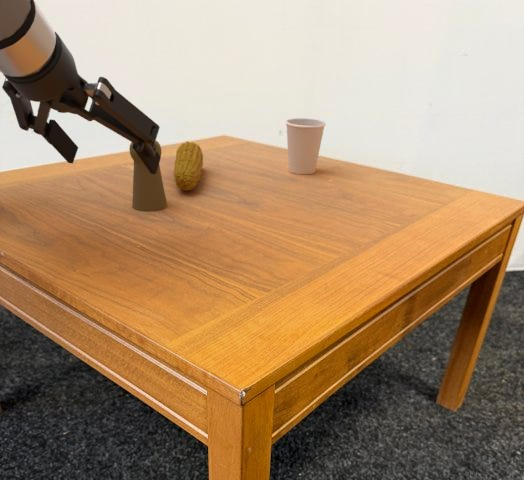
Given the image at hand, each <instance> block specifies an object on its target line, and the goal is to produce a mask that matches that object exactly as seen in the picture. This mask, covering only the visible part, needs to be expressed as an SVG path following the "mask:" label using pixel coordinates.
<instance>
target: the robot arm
mask: <svg viewBox="0 0 524 480" xmlns="http://www.w3.org/2000/svg"><path fill="white" fill-rule="evenodd" d="M0 73H1V74H2V75H3V77H5V78H4V81H3V84H2V87H1V88H2V90H3V91H4V93H6V95H7V96H8V98H9V99H10V103H11V106H12V108H13V111H14V115H15V117H16V120H17V125H18V126H19V128H20V129H21V130H22V131H26V132H27V131H29V129H30V130H33V132H34V133H35V134H36V135H40V136H42V138H43V139H44V140H45V141H46V142H47V143H48V144H49V145H50V146H52V147H53V148H54V149H55V150H56V151H57V152H58V154H59V155H60V156H62V158H64V160H65V161H66V162H67V163H68V164H74V161H75V158H76V155H77V153H78V150H79V146H78V145H77V144H76V143H75V142H74V141H73V139H72V138H71V137H70V136H69V134H67V132H66V131H65V130H64V129H63V128H62V126H60V125H59V123H58V122H57V121H56V120H55V119H49V117H50V113H51V109H52V110H53V111H56V112H57V113H61V114H67V113H68V114H73V115H78V116H79V117H81V118H82V119H84V120H86V121H87V122H92V121H95V122H96V123H98V124H100V125H102V126H103V127H105V128H107V129H109V130H110V131H112V132H114V133H116V134H117V135H119V136H120V137H123V138H124V139H126V140H127V141H129V142H130V143H131V142H133V146H132V147H133V149H134V150H135V152H136V153H137V154H138V156H139V157H140V159H141V160H142V162H143V163H144V164H145V166H146V167H147V169H148V170H149V172H150V173H151V174H156V172H157V168H158V165H160V163H161V158H162V156H161V157H160V155H159V154H158V152H157V151H156V150H157V146H156V144H155V141H157V137H158V134H159V131H160V125H159V124H158V123H156V122H155V121H154V120H152V118H150V117H149V116H148V115H147V114H145V113H144V112H143V111H142V110H140V109H139V108H138V107H137V106H136V105H134V104H133V103H132V102H131V101H130V100H129V99H127V98H126V97H125V96H124V95H122V94H121V93H120V92H119V91H117V90H116V88H115V87H114V86H113V85H112V83H111V82H110V80H108V79H107V78H106V77H105V76H98V79H97V82H94V83H93V82H88V80H86V79H84V78H83V77H82V76H81V75H80V74H79V72H78V69H77V65H76V62H75V58H74V56H73V54H72V53H71V51H70V49H69V48H68V47H67V45H66V44H65V43H64V41H63V40H62V38H61V37H60V35H59V34H58V33H57V32H56V31H55V29H54V28H53V26H52V25H51V23H50V21H49V20H48V19H47V17H46V15H45V14H44V13H43V11H42V9H40V7H39V6H38V4H37V3H36V2H35V0H0ZM89 98H90V99H91V104H90V107H89V110H87V109H86V107H87V104H88V102H89ZM32 102H35V103H38V104H39V106H38V108H37V115H35V114H34V110H33V106H32ZM48 119H49V121H48Z"/></svg>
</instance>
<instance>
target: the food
mask: <svg viewBox="0 0 524 480" xmlns="http://www.w3.org/2000/svg"><path fill="white" fill-rule="evenodd" d="M203 166H204V154H203V149H202V147H201V146H200V144H197V143H196V142H194V141H191V142H190V141H188V140H186V141H185V142H183V143H181V144H180V145H179V146H178V147H177V150H176V153H175V160H174V168H173V179H174V183H175V185H176V187H178V188H179V189H180V190H182V191H191V190H193V189H194V188H195V187H196V186H197V185H198V183H199V181H200V180H201V177H202V172H203Z"/></svg>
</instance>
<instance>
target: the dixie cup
mask: <svg viewBox="0 0 524 480" xmlns="http://www.w3.org/2000/svg"><path fill="white" fill-rule="evenodd" d="M284 124H286V125H285V126H286V142H287V159H288V171H289V172H290V173H292V174H296V175H312V174H315V173H316V169H317V165H318V159H319V154H320V150H321V145H322V140H323V134H324V129H325V127H326V126H327V125H326V124H327V123H326V122H325V121H323V120H322V119H321V120H320V119H315V118H309V117H307V118H306V117H297V118H288V119H286V120H285V122H284Z"/></svg>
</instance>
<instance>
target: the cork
mask: <svg viewBox="0 0 524 480" xmlns="http://www.w3.org/2000/svg"><path fill="white" fill-rule="evenodd" d="M155 144H156V146H157V150H156V151H157V152H158V154H159V155H160V157H161V158H162V147H161V144H160V143H159V141H157V140H156V141H155ZM132 146H133V142H131V141H130V144H129V148H128V149H129V155H130V157H131V159H132V160H133V176H132V201H131V202H132V203H131V207H132V208H133V209H135V210H138V211H142V212H154V211H160V210H164V209H166V208H167V207H168V203H167V202H168V201H167V197H166V192H165V187H164V181H163V177H162V176H163V175H162V171H161V166H160V164H159V165H158V168H157V172H156V174H151V173H150V172H149V170H148V169H147V167H146V166H145V164H144V163H143V162H142V160H141V159H140V157H139V156H138V154H137V153H136V152H135V150H134V149H133V147H132Z"/></svg>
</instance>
